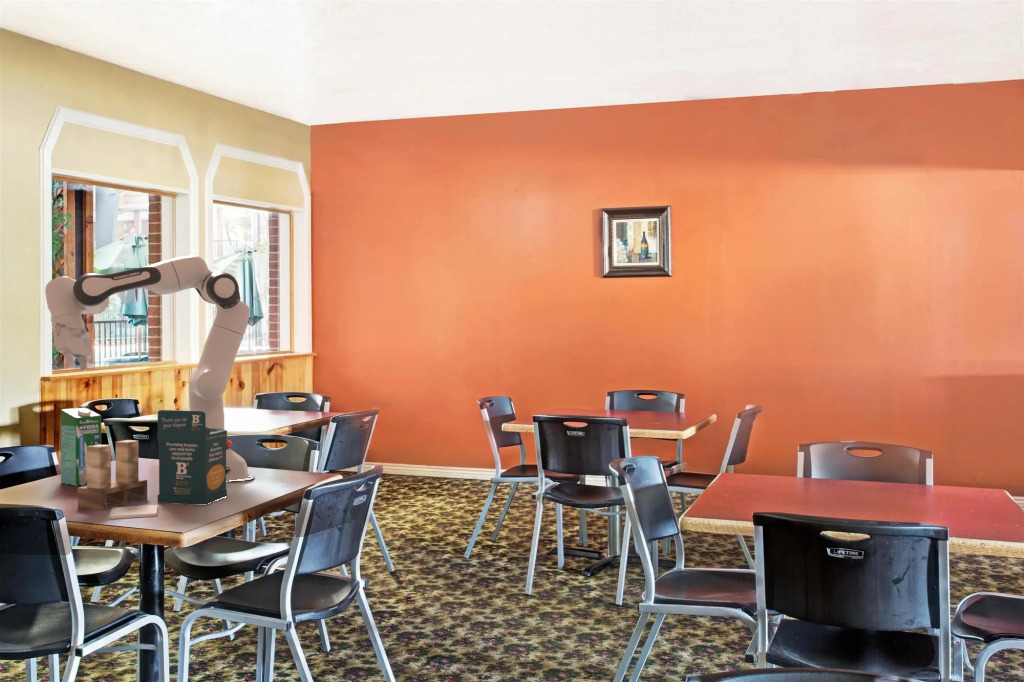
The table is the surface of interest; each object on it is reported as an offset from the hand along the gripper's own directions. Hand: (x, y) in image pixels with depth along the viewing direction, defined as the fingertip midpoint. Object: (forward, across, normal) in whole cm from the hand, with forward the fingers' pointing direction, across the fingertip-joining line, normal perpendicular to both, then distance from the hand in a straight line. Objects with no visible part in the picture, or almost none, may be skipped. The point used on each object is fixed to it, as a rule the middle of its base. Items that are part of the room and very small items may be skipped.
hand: (78, 368), depth 278 cm
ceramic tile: (+50, -23, -14) cm, 56 cm away
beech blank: (+39, -5, -8) cm, 40 cm away
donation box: (+50, -3, -26) cm, 57 cm away
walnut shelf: (+45, -9, -4) cm, 46 cm away
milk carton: (+32, +26, +17) cm, 45 cm away
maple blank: (+39, -15, -3) cm, 42 cm away
